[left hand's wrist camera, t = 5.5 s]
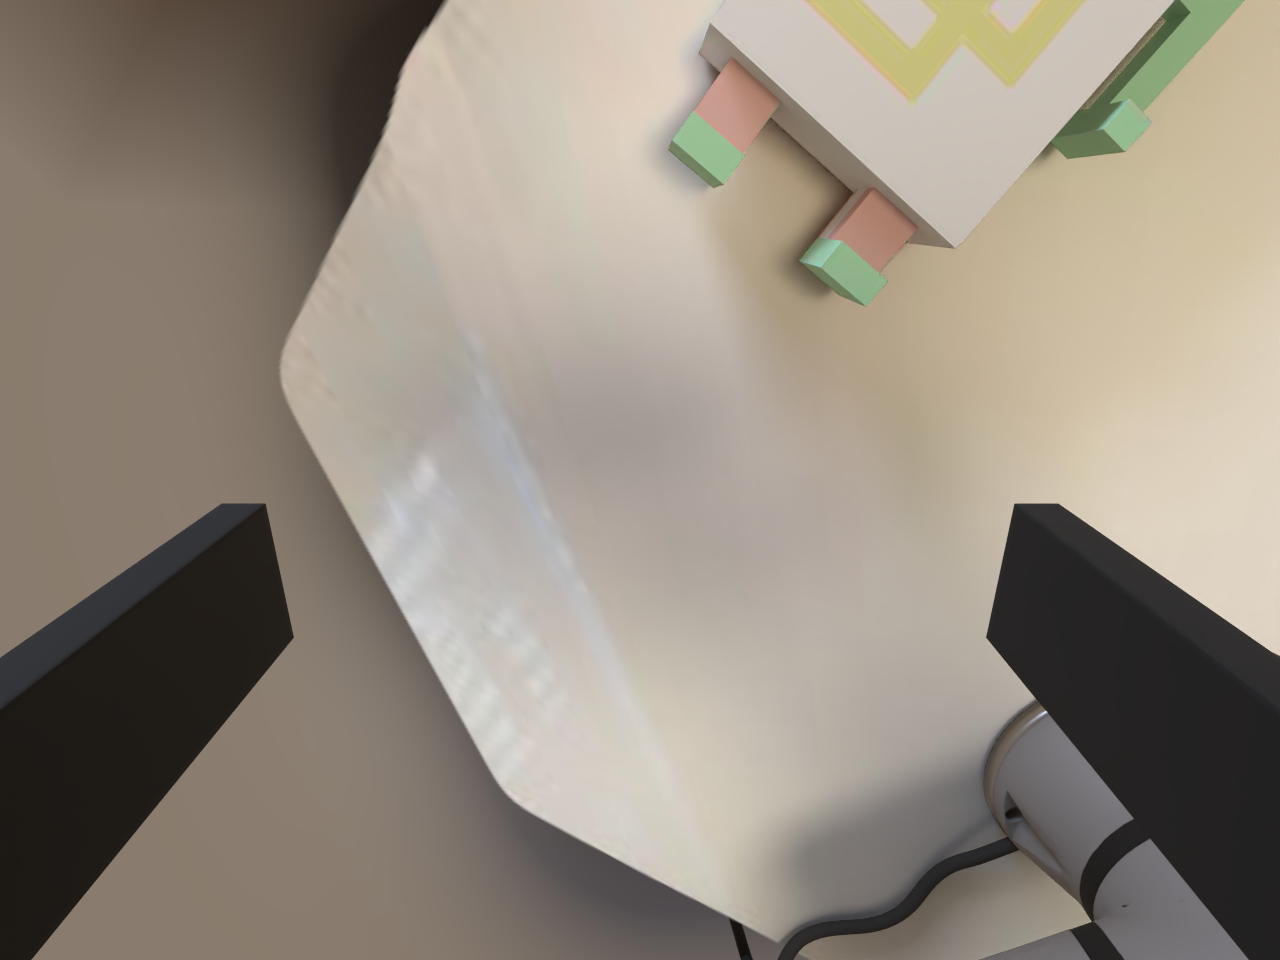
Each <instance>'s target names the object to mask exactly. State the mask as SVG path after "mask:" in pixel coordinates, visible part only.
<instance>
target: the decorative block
mask: <svg viewBox="0 0 1280 960" xmlns="http://www.w3.org/2000/svg"><path fill="white" fill-rule="evenodd" d="M1243 2H1244V0H726V1H725V2H724V4H723V5H722V6H721V8H720V9H719V11H718V12H717V14H716V15H715V17H714V18H713V20H712V21H711V23H710V25H709V28H708V30H707V33H706V36H705V38H704V41H703V44H702V46H701V49H700V52H699V54H700V55H701V56H703V57H704V58H705V59H706V60H707V61H708V62H709V63H710V64H711V65H713V66H714V67H715V68H716V69H717V70H718V71H719V72H720V74H719V76H718V77H717V79H716V80H715V82H714V83H713V84H712V86H711V87H710V89H709V90H708V92H707V93H706V94H705V96H704V97H703V99H702V100H701V101H700V103H699V104H698V106H697V107H696V109H695V110H693V111H692V113H691V114H690V116H689V117H688V119H687V120H686V121H685V123H684V124H683V126H682V127H681V128H680V130H679V131H678V133H677V134H676V136H675V137H674V138H673V140H672V142H671V144H670V146H669V149H668V150H669V151H670V152H672V153H673V154H674V155H675V156H676V157H678V158H679V159H680V160H681V161H682V162H683V163H685V164H686V165H687V166H688V167H689V168H690V169H692V170H693V171H694V172H695V173H696V174H697V175H699V176H700V177H701V178H702V179H703V180H704V181H706V182H707V183H708V184H709V185H710V186H712V187H713V188H714V187H717V186H720V185H723V184H724V183H725V182H726V181H727V179H728V178H729V177H730V175H731V174H732V173H733V171H734V170H735V169H736V167H737V166H738V164H739V163H740V162H741V160H742V159H743V158H744V156H745V155H744V154H743V153H744V152H745V151H746V149H747V148H748V146H749V145H750V144H751V142H752V141H753V140H754V138H755V137H756V136H757V134H758V133H759V132H760V130H761V129H762V128H763V126H764V125H765V124H766V122H767V121H768V119H769V118H771V119H772V120H773V121H775V122H776V123H777V124H778V125H779V126H780V127H781V128H782V129H783V130H785V131H786V132H787V133H788V134H789V135H790V136H791V137H792V138H793V139H795V140H796V141H797V142H798V143H799V144H800V145H801V146H802V147H803V148H805V149H806V150H807V151H808V152H809V153H810V154H811V155H812V156H813V157H815V158H816V159H817V160H818V161H819V162H820V163H821V164H822V165H823V166H824V167H826V168H827V169H828V170H829V171H830V172H831V173H832V174H833V175H834V176H836V177H837V178H838V179H839V180H840V181H841V182H842V183H843V184H844V185H846V186H847V187H848V188H849V189H850V190H851V191H852V192H853V194H852V195H851V197H850V198H849V199H848V200H847V202H846V203H845V204H844V205H843V207H842V208H841V209H840V210H839V211H838V213H837V214H836V215H835V216H834V218H833V219H832V220H831V221H830V223H829V224H828V225H827V226H826V228H825V229H824V230H823V231H822V233H821V234H820V235H819V236H818V237H817V239H816V240H815V241H814V242H813V244H812V245H811V246H810V247H809V249H808V250H807V251H806V252H805V254H804V255H803V256H802V257H801V259H800V260H799V261H800V262H801V263H802V264H803V265H804V266H805V267H807V268H808V269H809V270H810V271H811V272H812V273H814V274H815V275H816V276H817V277H818V278H819V279H821V280H822V281H823V282H824V283H825V284H826V285H828V286H829V287H830V288H831V289H832V290H834V291H835V292H836V293H837V294H838V295H840V296H842V297H844V298H847V299H849V300H852V301H854V302H856V303H859V304H861V305H864V306H867V305H868V304H869V303H870V301H871V300H872V299H873V298H874V297H875V296H876V294H877V293H878V292H879V291H880V290H881V289H882V288H883V286H884V285H885V284H886V283H887V282H888V281H887V280H886V279H885V278H884V277H883V276H882V275H881V274H879V273H880V272H881V271H882V270H883V268H884V267H885V266H886V265H887V264H888V263H889V261H890V260H891V259H892V258H893V257H894V256H895V254H896V253H897V252H898V251H899V250H900V249H901V247H902V246H903V245H904V244H905V243H906V241H908V242H909V243H910V244H919V245H928V246H937V247H945V248H954V249H956V248H957V247H958V246H959V245H960V243H961V242H962V241H963V240H964V239H965V238H966V237H967V236H968V234H969V233H970V232H971V231H972V230H973V229H974V228H975V226H976V225H977V224H978V223H979V222H980V221H981V220H982V218H983V217H984V216H985V215H986V214H987V213H988V212H989V211H990V209H991V208H992V207H993V206H994V205H995V204H996V203H997V201H998V200H999V199H1000V198H1001V197H1002V196H1003V195H1004V194H1005V192H1006V191H1007V190H1008V189H1009V188H1010V187H1011V186H1012V184H1013V183H1014V182H1015V181H1016V180H1017V179H1018V178H1019V176H1020V175H1021V174H1022V173H1023V172H1024V171H1025V170H1026V169H1027V167H1028V166H1029V165H1030V164H1031V163H1032V162H1033V161H1034V159H1035V158H1036V157H1037V156H1038V155H1039V154H1040V153H1041V151H1042V150H1043V149H1044V148H1045V147H1046V146H1047V145H1048V144H1049V142H1051V143H1052V144H1053V145H1054V146H1055V147H1056V148H1057V149H1058V150H1059V151H1060V152H1061V153H1062V154H1063V155H1064V156H1065V157H1066V158H1067V159H1072V158H1080V157H1088V156H1096V155H1104V154H1112V153H1120V152H1125V151H1126V150H1127V149H1128V148H1129V147H1130V146H1131V145H1132V144H1133V143H1134V142H1135V140H1136V139H1137V138H1138V137H1139V136H1140V135H1141V134H1142V133H1143V132H1144V131H1145V130H1146V128H1147V127H1148V126H1149V125H1150V124H1151V123H1152V121H1151V120H1150V119H1149V118H1148V117H1147V116H1146V115H1145V114H1144V113H1143V111H1144V110H1145V109H1146V108H1147V107H1148V106H1149V105H1150V104H1151V103H1152V101H1153V100H1154V99H1155V98H1156V97H1157V96H1158V95H1159V94H1160V93H1161V92H1162V90H1163V89H1164V88H1165V87H1166V86H1167V85H1168V84H1169V83H1170V82H1171V81H1172V79H1173V78H1174V77H1175V76H1176V75H1177V74H1178V73H1179V72H1180V71H1181V70H1182V68H1183V67H1184V66H1185V65H1186V64H1187V63H1188V62H1189V61H1190V60H1191V59H1192V58H1193V56H1194V55H1195V54H1196V53H1197V52H1198V51H1199V50H1200V49H1201V48H1202V47H1203V45H1204V44H1205V43H1206V42H1207V41H1208V40H1209V39H1210V38H1211V37H1212V36H1213V34H1214V33H1215V32H1216V31H1217V30H1218V29H1219V28H1220V27H1221V26H1222V25H1223V24H1224V22H1225V21H1226V20H1227V19H1228V18H1229V17H1230V16H1231V15H1232V14H1233V13H1234V11H1235V10H1236V9H1237V8H1238V7H1239V6H1240V5H1241V4H1242V3H1243ZM1161 15H1162V17H1163V18H1164V19H1165V20H1166V23H1165V24H1164V25H1163V26H1162V27H1161V28H1160V29H1159V30H1158V32H1157V33H1156V34H1155V35H1154V36H1153V37H1152V38H1151V39H1150V41H1149V42H1148V43H1147V44H1146V45H1145V46H1144V47H1143V49H1142V50H1141V51H1140V52H1139V53H1138V54H1137V55H1136V56H1135V58H1134V59H1133V60H1132V61H1131V62H1130V63H1129V64H1128V65H1127V67H1126V68H1125V69H1124V70H1123V71H1122V72H1121V73H1120V74H1119V76H1118V77H1117V78H1116V79H1115V80H1114V81H1113V82H1112V84H1111V85H1110V86H1109V87H1108V88H1107V89H1106V90H1105V91H1104V93H1103V94H1102V95H1101V96H1100V97H1099V98H1098V99H1097V100H1096V102H1095V103H1094V104H1093V105H1092V106H1091V107H1090V108H1089V109H1085V110H1081V111H1078V109H1079V108H1080V107H1081V106H1082V105H1083V104H1084V103H1085V102H1086V100H1087V99H1088V98H1089V97H1090V96H1091V95H1092V94H1093V92H1094V91H1095V90H1096V89H1097V88H1098V87H1099V86H1100V84H1101V83H1102V82H1103V81H1104V80H1105V79H1106V78H1107V77H1108V75H1109V74H1110V73H1111V72H1112V71H1113V70H1114V69H1115V67H1116V66H1117V65H1118V64H1119V63H1120V62H1121V61H1122V59H1123V58H1124V57H1125V56H1126V55H1127V54H1128V53H1129V52H1130V50H1131V49H1132V48H1133V47H1134V46H1135V45H1136V44H1137V42H1138V41H1139V40H1140V39H1141V38H1142V37H1143V36H1144V35H1145V33H1146V32H1147V31H1148V30H1149V29H1150V28H1151V27H1152V25H1153V24H1154V23H1155V22H1156V21H1157V20H1158V19H1159V17H1160V16H1161Z"/></svg>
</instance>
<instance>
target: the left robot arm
mask: <svg viewBox="0 0 1280 960" xmlns="http://www.w3.org/2000/svg"><path fill="white" fill-rule="evenodd" d="M293 638H294V636H293V632H292V627H291V622H290V617H289V613H288V608H287V603H286V598H285V594H284V589H283V584H282V580H281V575H280V570H279V565H278V561H277V556H276V551H275V546H274V542H273V537H272V532H271V528H270V523H269V518H268V513H267V509H266V504H221V505H219V506H218V507H216V508H215V509H213V510H212V511H210V512H209V513H208V514H206V515H205V516H203V517H202V518H200V519H199V520H198V521H196V522H195V523H193V524H192V525H190V526H189V527H188V528H186V529H185V530H183V531H182V532H180V533H179V534H177V535H176V536H175V537H173V538H172V539H170V540H169V541H167V542H166V543H164V544H163V545H162V546H160V547H159V548H157V549H156V550H154V551H153V552H152V553H150V554H149V555H147V556H146V557H144V558H143V559H141V560H140V561H139V562H137V563H136V564H134V565H133V566H131V567H130V568H129V569H127V570H126V571H124V572H123V573H121V574H120V575H119V576H117V577H116V578H114V579H113V580H111V581H110V582H108V583H107V584H106V585H104V586H103V587H101V588H100V589H98V590H97V591H95V592H94V593H93V594H91V595H90V596H88V597H87V598H85V599H84V600H83V601H81V602H80V603H78V604H77V605H75V606H74V607H73V608H71V609H70V610H68V611H67V612H65V613H64V614H63V615H61V616H60V617H58V618H57V619H55V620H54V621H52V622H51V623H50V624H48V625H47V626H45V627H44V628H42V629H41V630H40V631H38V632H37V633H35V634H34V635H32V636H31V637H29V638H28V639H27V640H25V641H24V642H22V643H21V644H19V645H18V646H16V647H15V648H14V649H12V650H11V651H9V652H8V653H6V654H5V655H4V656H2V657H1V658H0V960H31V959H32V958H33V957H34V956H35V955H36V953H37V952H38V951H39V950H40V948H41V947H42V946H43V945H44V944H45V942H46V941H47V940H48V939H49V937H50V936H51V935H52V934H53V932H54V931H55V930H56V929H57V928H58V926H59V925H60V924H61V923H62V921H63V920H64V919H65V918H66V917H67V915H68V914H69V913H70V912H71V910H72V909H73V908H74V907H75V905H76V904H77V903H78V902H79V901H80V899H81V898H82V897H83V896H84V894H85V893H86V892H87V891H88V890H89V888H90V887H91V886H92V885H93V883H94V882H95V881H96V880H97V878H98V877H99V876H100V875H101V874H102V872H103V871H104V870H105V869H106V867H107V866H108V865H109V864H110V862H111V861H112V860H113V859H114V858H115V856H116V855H117V854H118V853H119V851H120V850H121V849H122V848H123V847H124V845H125V844H126V843H127V842H128V840H129V839H130V838H131V837H132V835H133V834H134V833H135V832H136V831H137V829H138V828H139V827H140V826H141V824H142V823H143V822H144V821H145V819H146V818H147V817H148V816H149V815H150V813H151V812H152V811H153V810H154V808H155V807H156V806H157V805H158V804H159V802H160V801H161V800H162V799H163V797H164V796H165V795H166V794H167V793H168V791H169V790H170V789H171V788H172V786H173V785H174V784H175V783H176V781H177V780H178V779H179V778H180V777H181V775H182V774H183V773H184V772H185V770H186V769H187V768H188V767H189V765H190V764H191V763H192V762H193V761H194V759H195V758H196V757H197V756H198V754H199V753H200V752H201V751H202V750H203V748H204V747H205V746H206V745H207V743H208V742H209V741H210V740H211V739H212V737H213V736H214V735H215V734H216V732H217V731H218V730H219V729H220V727H221V726H222V725H223V724H224V723H225V721H226V720H227V719H228V718H229V716H230V715H231V714H232V713H233V712H234V710H235V709H236V708H237V707H238V705H239V704H240V703H241V702H242V700H243V699H244V698H245V697H246V696H247V694H248V693H249V692H250V691H251V689H252V688H253V687H254V686H255V684H256V683H257V682H258V681H259V680H260V678H261V677H262V676H263V675H264V673H265V672H266V671H267V670H268V669H269V667H270V666H271V665H272V664H273V662H274V661H275V660H276V659H277V658H278V656H279V655H280V654H281V653H282V651H283V650H284V649H285V648H286V646H287V645H288V644H289V643H290V642H291V640H292V639H293ZM986 638H987V639H988V640H989V642H990V643H991V644H992V645H993V646H994V648H995V649H996V650H997V651H998V653H999V654H1000V655H1001V656H1002V658H1003V659H1004V660H1005V661H1006V662H1007V664H1008V665H1009V666H1010V667H1011V669H1012V670H1013V671H1014V672H1015V673H1016V675H1017V676H1018V677H1019V678H1020V680H1021V681H1022V682H1023V683H1024V685H1025V686H1026V687H1027V688H1028V689H1029V691H1030V692H1031V693H1032V694H1033V696H1034V697H1035V698H1036V699H1037V700H1038V702H1037V703H1036V704H1034V705H1033V706H1031V707H1030V708H1028V709H1027V710H1026V711H1024V712H1023V713H1022V714H1021V715H1019V716H1018V717H1017V718H1016V719H1015V720H1014V721H1013V722H1012V723H1011V724H1010V725H1009V726H1008V727H1007V728H1006V729H1005V731H1004V732H1003V733H1002V734H1001V736H1000V737H999V739H998V740H997V742H996V743H995V745H994V747H993V748H992V751H991V753H990V755H989V757H988V760H987V763H986V767H985V772H984V792H985V797H986V800H987V803H988V806H989V808H990V810H991V812H992V813H993V815H994V817H995V818H996V820H997V822H998V824H999V825H1000V827H1001V828H1002V830H1003V831H1004V833H1005V834H1006V835H1007V836H1008V837H1006V838H1004V839H1001V840H999V841H996V842H994V843H991V844H988V845H986V846H983V847H980V848H978V849H975V850H972V851H968V852H965V853H961V854H958V855H955V856H952V857H949V858H947V859H945V860H944V861H942V862H940V863H939V864H937V865H936V866H934V867H933V868H932V869H931V870H929V871H928V872H927V873H926V874H925V875H924V876H923V878H922V879H921V880H920V881H919V882H918V884H917V885H916V886H915V888H914V889H913V890H912V892H911V893H910V894H909V895H908V896H907V898H906V899H905V900H904V901H903V902H902V903H900V904H899V905H898V906H897V907H895V908H894V909H892V910H890V911H888V912H886V913H884V914H881V915H878V916H875V917H870V918H864V919H855V920H840V921H830V922H824V923H819V924H816V925H813V926H810V927H807V928H805V929H803V930H801V931H800V932H798V933H797V934H795V935H794V936H793V937H792V938H791V939H790V940H789V941H788V943H787V944H786V945H785V947H784V949H783V950H782V952H781V954H780V956H779V958H778V960H793V959H794V958H795V956H796V955H797V953H798V952H799V951H800V950H801V949H802V948H803V947H804V946H805V945H807V944H808V943H810V942H812V941H814V940H817V939H820V938H824V937H828V936H835V935H848V934H862V933H870V932H876V931H880V930H883V929H887V928H889V927H892V926H894V925H896V924H898V923H900V922H901V921H903V920H905V919H906V918H907V917H909V916H910V915H911V914H912V913H913V912H914V911H915V910H916V909H917V908H918V907H919V906H920V905H921V904H922V903H923V901H924V900H925V899H926V898H927V896H928V895H929V894H930V892H931V891H932V890H933V889H934V888H935V887H936V885H937V884H938V883H939V882H941V881H942V880H943V879H944V878H946V877H947V876H949V875H950V874H952V873H954V872H956V871H959V870H962V869H965V868H969V867H973V866H976V865H980V864H983V863H986V862H989V861H991V860H994V859H997V858H999V857H1002V856H1005V855H1007V854H1010V853H1013V852H1015V851H1018V850H1021V851H1022V852H1023V853H1024V854H1025V855H1026V856H1027V857H1028V858H1030V859H1031V860H1032V861H1033V862H1034V863H1035V864H1036V865H1037V866H1039V867H1040V868H1041V869H1042V870H1043V871H1044V872H1045V873H1046V874H1048V875H1049V876H1050V877H1051V878H1052V879H1053V880H1054V881H1055V882H1057V883H1058V884H1059V885H1060V886H1061V887H1062V888H1063V889H1064V890H1066V891H1067V892H1068V893H1069V894H1070V895H1071V896H1072V897H1073V898H1075V899H1076V900H1077V901H1078V902H1079V903H1080V904H1081V905H1082V907H1083V908H1084V910H1085V912H1086V913H1087V915H1088V916H1089V918H1090V919H1091V921H1092V922H1091V923H1088V924H1085V925H1082V926H1079V927H1076V928H1073V929H1069V930H1066V931H1063V932H1060V933H1057V934H1054V935H1051V936H1049V937H1046V938H1043V939H1040V940H1037V941H1034V942H1031V943H1028V944H1025V945H1023V946H1020V947H1017V948H1014V949H1011V950H1008V951H1005V952H1001V953H998V954H995V955H992V956H989V957H986V958H983V959H980V960H1280V656H1279V655H1277V654H1275V653H1272V652H1271V651H1269V650H1268V649H1266V648H1265V647H1264V646H1262V645H1261V644H1259V643H1258V642H1256V641H1255V640H1253V639H1252V638H1251V637H1249V636H1248V635H1246V634H1245V633H1243V632H1242V631H1241V630H1239V629H1238V628H1236V627H1235V626H1233V625H1232V624H1230V623H1229V622H1228V621H1226V620H1225V619H1223V618H1222V617H1220V616H1219V615H1218V614H1216V613H1215V612H1213V611H1212V610H1210V609H1209V608H1207V607H1206V606H1205V605H1203V604H1202V603H1200V602H1199V601H1197V600H1196V599H1195V598H1193V597H1192V596H1190V595H1189V594H1187V593H1186V592H1184V591H1183V590H1182V589H1180V588H1179V587H1177V586H1176V585H1174V584H1173V583H1172V582H1170V581H1169V580H1167V579H1166V578H1164V577H1163V576H1162V575H1160V574H1159V573H1157V572H1156V571H1154V570H1153V569H1151V568H1150V567H1149V566H1147V565H1146V564H1144V563H1143V562H1141V561H1140V560H1139V559H1137V558H1136V557H1134V556H1133V555H1131V554H1130V553H1128V552H1127V551H1126V550H1124V549H1123V548H1121V547H1120V546H1118V545H1117V544H1116V543H1114V542H1113V541H1111V540H1110V539H1108V538H1107V537H1105V536H1104V535H1103V534H1101V533H1100V532H1098V531H1097V530H1095V529H1094V528H1093V527H1091V526H1090V525H1088V524H1087V523H1085V522H1084V521H1082V520H1081V519H1080V518H1078V517H1077V516H1075V515H1074V514H1072V513H1071V512H1070V511H1068V510H1067V509H1065V508H1064V507H1062V506H1061V505H1060V504H1014V509H1013V513H1012V518H1011V523H1010V528H1009V532H1008V537H1007V542H1006V546H1005V551H1004V556H1003V561H1002V565H1001V570H1000V575H999V580H998V584H997V589H996V594H995V598H994V603H993V608H992V613H991V617H990V622H989V627H988V632H987V636H986ZM728 917H729V916H728ZM729 921H730V924H731V927H732V931H733V934H734V938H735V941H736V945H737V949H738V952H739V955H740V958H741V960H753V958H752V955H751V952H750V949H749V946H748V943H747V939H746V936H745V932H744V929H743V926H742V923H740V922H738V921H736V920H734V919H732V918H731V917H729Z"/></svg>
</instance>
